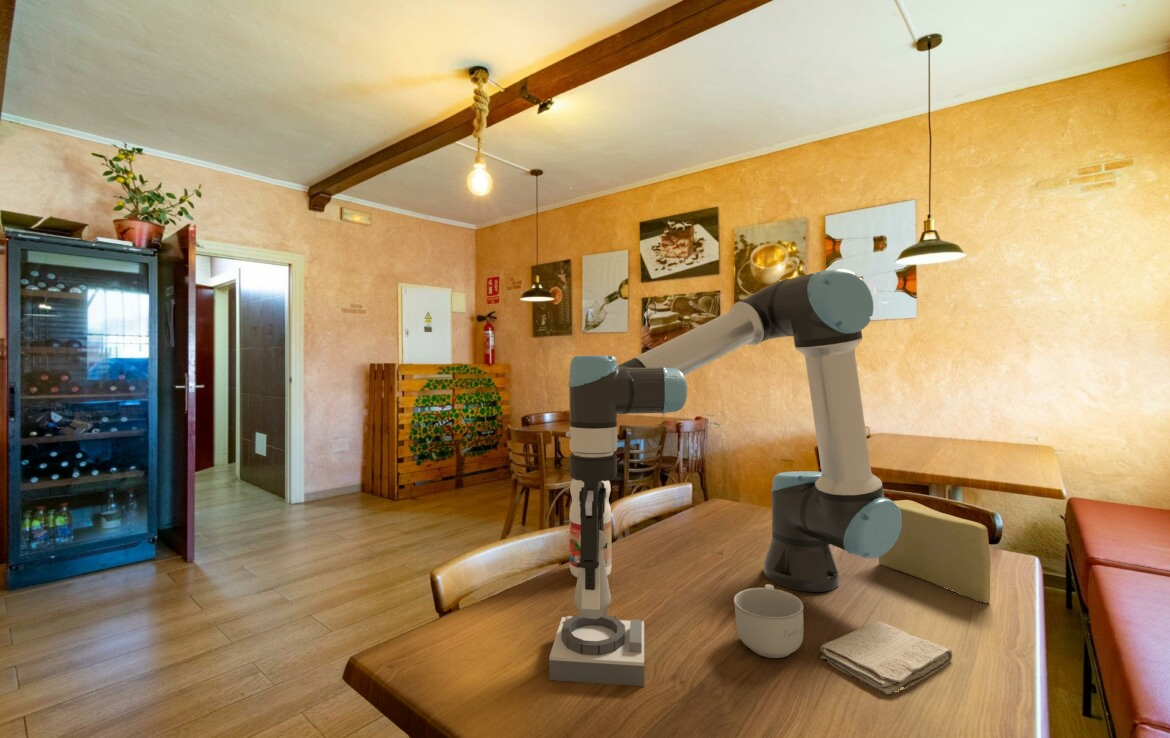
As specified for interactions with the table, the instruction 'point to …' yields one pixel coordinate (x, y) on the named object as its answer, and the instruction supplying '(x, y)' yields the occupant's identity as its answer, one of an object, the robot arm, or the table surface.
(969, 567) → the cheese
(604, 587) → the bowling pin
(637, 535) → the table surface
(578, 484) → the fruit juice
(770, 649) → the teacup
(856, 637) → the washcloth
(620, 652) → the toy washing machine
